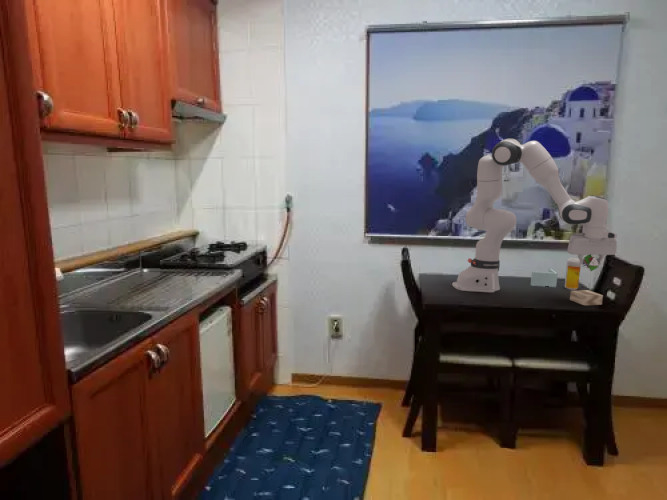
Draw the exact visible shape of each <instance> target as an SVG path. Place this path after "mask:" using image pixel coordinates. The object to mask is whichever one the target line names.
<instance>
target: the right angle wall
mask: <svg viewBox="0 0 667 500" xmlns="http://www.w3.org/2000/svg"><path fill="white" fill-rule="evenodd" d="M557 282H558V272H556V271H555V270H553V269H552V268H548V270H547V271H546V272H545V271H544V272H543V271H531V278H530V286H531V287H545V286H549V287H548V288H557V285H558V284H557Z"/></svg>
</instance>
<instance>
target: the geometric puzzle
mask: <svg viewBox="0 0 667 500" xmlns="http://www.w3.org/2000/svg"><path fill="white" fill-rule="evenodd" d="M582 258H583V260H584V261H585V264H584V265H583V267H585V268H586V269H588V271H590V272H592V271H594V270H596V269H598V268H599V266H600V265H599V264H598V261H597V260H598V258H599V257H598V258H596V257H595V255H585V256H583V257H582ZM599 261H600V258H599Z"/></svg>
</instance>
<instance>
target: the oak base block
mask: <svg viewBox="0 0 667 500" xmlns="http://www.w3.org/2000/svg"><path fill="white" fill-rule="evenodd" d="M569 295H570V297H569V301H572V302H574V303H577V304H580V305H583V306H599V305H603V297H604V294H600V293H598V292H594V291H591V290H588V289H587V290H586V289H584V290H583V289H581V290H570V294H569Z"/></svg>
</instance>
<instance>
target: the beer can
mask: <svg viewBox="0 0 667 500" xmlns="http://www.w3.org/2000/svg"><path fill="white" fill-rule="evenodd" d="M581 267H582V265H581V264H580V260H579V258H578V257H577V258H575V257H568V259H567V261H566V271H565V279H564V287H565V289H566V290H570V291H578V290H577V289H579V284H580V283H579V282H580V276H581V275H580V274H581Z"/></svg>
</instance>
